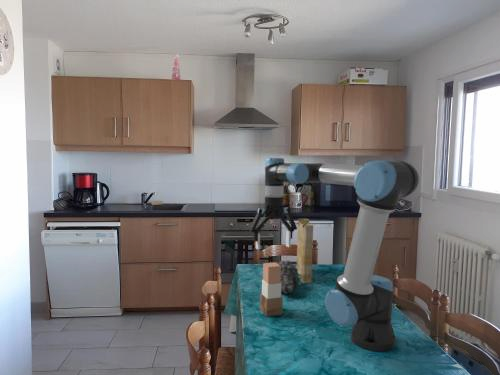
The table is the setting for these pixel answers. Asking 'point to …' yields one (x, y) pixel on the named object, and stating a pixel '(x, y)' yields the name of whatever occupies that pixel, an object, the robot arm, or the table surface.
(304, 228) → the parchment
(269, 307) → the walnut base cube
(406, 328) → the table surface
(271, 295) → the cream top cube
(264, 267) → the terracotta block
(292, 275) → the rock
